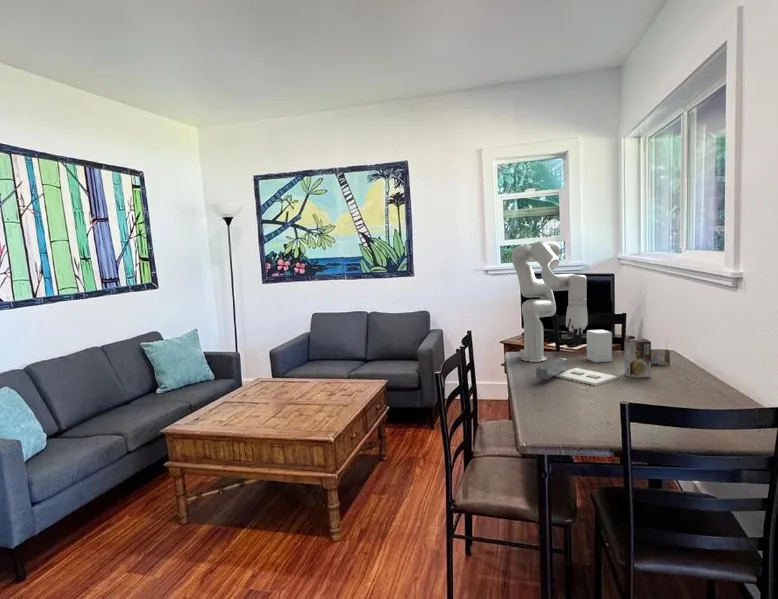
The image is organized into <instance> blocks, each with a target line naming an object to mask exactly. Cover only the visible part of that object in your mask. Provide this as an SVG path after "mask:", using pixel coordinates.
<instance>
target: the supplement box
mask: <svg viewBox="0 0 778 599" xmlns="http://www.w3.org/2000/svg"><path fill="white" fill-rule="evenodd" d="M612 349H613V332H611V331H609V330H605V329H589V330H588V329H587V330H586V359H587V360H589V361H592V362H593V363H605V362H608V363H609V361H610V362H612V359H613V354H612V353H613V350H612Z"/></svg>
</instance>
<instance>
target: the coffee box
mask: <svg viewBox="0 0 778 599" xmlns="http://www.w3.org/2000/svg"><path fill="white" fill-rule="evenodd" d="M651 349H652V341H650V340H649V339H646V338H629V339H628V338H627V339H625V338H624V360H623V361H624V369H623V370H624V372H623V373H624V375H625V374H626V375H625V376H627V377H628V376H629V378H630V377H636V378H651V377H652V365H651Z"/></svg>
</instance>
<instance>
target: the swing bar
mask: <svg viewBox="0 0 778 599" xmlns="http://www.w3.org/2000/svg"><path fill="white" fill-rule="evenodd" d="M567 369H568V359H567V358H566V357H557V358H554V359H553V360H550V361H548V362H547V363H544V364H543V365H541V366H538V367H537V368H536V369H535V377H536V378H538V379H542V380H543V379H544V380H549V379H550V378H552V377H555V375H556V374H558V373H560V372H561V371H563V370H565V371H566V370H567Z"/></svg>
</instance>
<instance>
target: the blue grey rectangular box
mask: <svg viewBox="0 0 778 599" xmlns="http://www.w3.org/2000/svg"><path fill="white" fill-rule="evenodd" d="M651 364H659V365H658V366H669V365H670V366H671V350H670V349H667V348H665V349H663V348H661V349H660V348H658V349H657V348H651ZM667 364H669V365H667Z"/></svg>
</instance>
